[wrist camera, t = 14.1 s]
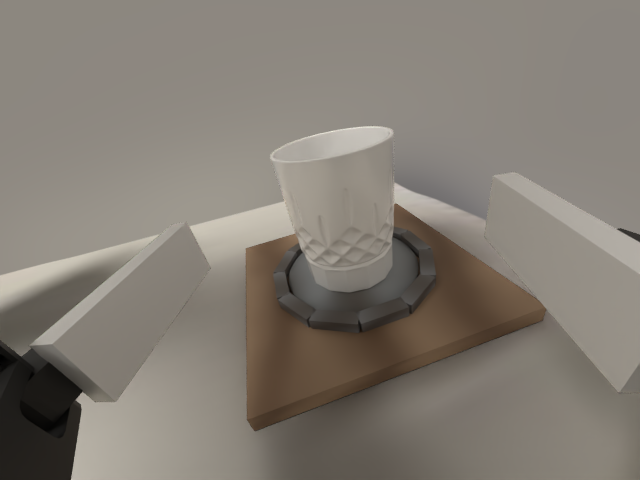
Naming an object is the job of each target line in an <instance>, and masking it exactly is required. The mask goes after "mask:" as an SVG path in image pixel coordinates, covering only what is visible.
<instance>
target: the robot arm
mask: <svg viewBox="0 0 640 480" xmlns="http://www.w3.org/2000/svg"><path fill="white" fill-rule="evenodd" d="M484 237H485V238H486V239H487V241H488V242H489V243H490V244H491V245H492V246H493V248H494V249H495V250H496V251H497V252H498V253H499V255H500V256H501V257H502V258H503V259H504V260H505V262H506V263H507V264H508V265H509V266H510V267H511V268H512V270H513V271H514V272H515V273H516V274H517V275H518V277H519V278H520V279H521V280H522V281H523V282H524V284H525V285H526V286H527V287H528V288H529V289H530V291H531V292H532V293H533V294H534V295H535V296H536V298H537V299H538V300H539V301H540V302H541V303H542V305H543V306H544V307H545V308H546V309H547V310H548V311H549V313H550V314H551V315H552V316H553V317H554V318H555V320H556V321H557V322H558V323H559V324H560V325H561V327H562V328H563V329H564V330H565V331H566V332H567V334H568V335H569V336H570V337H571V338H572V339H573V341H574V342H575V343H576V344H577V345H578V346H579V348H580V349H581V350H582V351H583V352H584V353H585V354H586V356H587V357H588V358H589V359H590V360H591V361H592V363H593V364H594V365H595V366H596V367H597V368H598V370H599V371H600V372H601V373H602V374H603V375H604V377H605V378H606V379H607V380H608V381H609V382H610V384H611V385H612V386H613V387H614V388H615V389H616V391H617V392H618V393H640V235H639V234H636V233H633V232H630V231H627V230H624V229H621V228H620V229H615V228H613V227H612V226H610V225H608V224H606V223H604V222H603V221H601V220H599V219H597V218H596V217H594V216H592V215H590V214H589V213H587V212H585V211H583V210H581V209H580V208H578V207H576V206H574V205H573V204H571V203H569V202H567V201H566V200H564V199H562V198H560V197H558V196H557V195H555V194H553V193H551V192H550V191H548V190H546V189H544V188H542V187H540V186H539V185H537V184H535V183H534V182H532V181H530V180H528V179H527V178H525V177H523V176H521V175H520V174H518V173H516V172H513V173H506V174H500V175H493V180H492V186H491V193H490V200H489V208H488V215H487V221H486V228H485V236H484ZM210 269H211V268H210V266H209V264H208V262H207V260H206V258H205V256H204V254H203V252H202V250H201V248H200V247H199V245H198V243H197V241H196V239H195V237H194V235H193V233H192V231H191V229H190V227H189V225H188V223H187V222H184V223H176V224H172V225H171V226H170V227H168V228H167V229H166V230H165V231H164V232H163V233H161V234H160V235H159V236H158V237H157V238H155V239H154V240H153V241H152V242H151V243H150V244H148V245H147V246H146V247H145V248H144V249H142V250H141V251H140V252H139V253H138V254H136V255H135V256H134V257H133V258H132V259H131V260H129V261H128V262H127V263H126V264H125V265H123V266H122V267H121V268H120V269H119V270H118V271H116V272H115V273H114V274H113V275H112V276H110V277H109V278H108V279H107V280H106V281H105V282H103V283H102V284H101V285H100V286H99V287H97V288H96V289H95V290H94V291H93V292H92V293H90V294H89V295H88V296H87V297H86V298H84V299H83V300H82V301H81V302H80V303H79V304H77V305H76V306H75V307H74V308H73V309H71V310H70V311H69V312H68V313H67V314H66V315H64V316H63V317H62V318H61V319H60V320H58V321H57V322H56V323H55V324H54V325H52V326H51V327H50V328H49V329H48V330H47V331H45V332H44V333H43V334H42V335H41V336H39V337H38V338H37V339H36V340H35V341H34V342H32V343H31V344H30V345H29V347H31V349H30V350H29V351H28V352H27V353H26V354H24V355H23V356H22V357H21V356H19V355H18V354H17V353H16V352H14V351H13V350H12V349H11V348H9V347H8V346H7V345H6V344H4V343H3V342H2V341H1V340H0V480H71V475H72V469H73V462H74V456H75V449H76V443H77V436H78V430H79V423H80V417H81V410H82V409H81V404H79V403H78V402H77V401H76V398H77V397H78V396H79V395H80V394H81V393H82V391H83V392H84V393H85V394H86V395H87V396H89V397H90V398H91V399H92V400H93V401H95V402H116V401H117V399H118V398H119V397H120V395H121V394H122V392H123V391H124V390H125V388H126V387H127V385H128V384H129V383H130V381H131V380H132V378H133V377H134V376H135V374H136V373H137V371H138V370H139V369H140V367H141V366H142V364H143V363H144V361H145V360H146V359H147V357H148V356H149V354H150V353H151V352H152V350H153V349H154V347H155V346H156V345H157V343H158V342H159V340H160V339H161V338H162V336H163V335H164V333H165V332H166V331H167V329H168V328H169V326H170V325H171V323H172V322H173V321H174V319H175V318H176V316H177V315H178V314H179V312H180V311H181V309H182V308H183V307H184V305H185V304H186V302H187V301H188V300H189V298H190V297H191V295H192V294H193V292H194V291H195V290H196V288H197V287H198V285H199V284H200V283H201V281H202V280H203V278H204V277H205V276H206V274H207V273H208V271H209V270H210Z"/></svg>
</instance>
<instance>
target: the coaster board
mask: <svg viewBox="0 0 640 480" xmlns="http://www.w3.org/2000/svg"><path fill="white" fill-rule="evenodd" d="M392 260H393V265H392V268H391V270H390V271H389V273H388V275H387V276H386V278H385V279H384V280H382V281H381V282H379V283H377V284H376V285H374V286H373V287H371V288H369V289H365V290H360V291H356V292H351V293H347V292H336V291H330V290H328V289H326V288H324V287H322V286H320V285H318V284H317V283H316V282H315V280H314V278H313V276H312V275H311V273H310V270H309V267H308V264H307V261H306V258H305V254H304V253H303V252H302V250H301V247H300V244H299V241H298V238H297V236H296V234H293V235H289V236H286V237H283V238H279V239H276V240H273V241H269V242H266V243H263V244H259V245H256V246H253V247H249V248H246V346H247V421H248V422H249V424H250V425H251V427H252V428H253V430H254V431H256V430H259V429H262V428H264V427H267V426H269V425H272V424H275V423H277V422H280V421H282V420H285V419H288V418H290V417H293V416H295V415H298V414H300V413H303V412H306V411H308V410H311V409H313V408H316V407H319V406H321V405H324V404H326V403H329V402H332V401H334V400H337V399H339V398H342V397H345V396H347V395H350V394H352V393H355V392H358V391H360V390H363V389H365V388H368V387H371V386H373V385H376V384H378V383H381V382H384V381H386V380H389V379H391V378H394V377H397V376H399V375H402V374H404V373H407V372H410V371H412V370H415V369H417V368H420V367H422V366H425V365H428V364H430V363H433V362H435V361H438V360H441V359H443V358H446V357H448V356H451V355H454V354H456V353H459V352H461V351H464V350H467V349H469V348H472V347H474V346H477V345H480V344H482V343H485V342H487V341H490V340H493V339H495V338H498V337H500V336H503V335H506V334H508V333H511V332H513V331H516V330H519V329H521V328H524V327H526V326H529V325H531V324H534V323H537V322H539V321H542V320H543V318H544V315H545V312H546V308H545V307H544V306H543V305H542V303H541V302H540V301H539V300H537V299H536V298H535V297H533V296H532V295H530V294H529V293H527V292H526V291H524V290H523V289H521V288H520V287H518V286H517V285H515V284H514V283H512V282H511V281H510V280H508V279H507V278H505V277H504V276H502V275H501V274H499V273H498V272H496V271H495V270H493V269H492V268H490V267H489V266H487V265H486V264H485V263H483V262H482V261H480V260H479V259H477V258H476V257H474V256H473V255H471V254H470V253H468V252H467V251H465V250H464V249H462V248H461V247H460V246H458V245H457V244H455V243H454V242H452V241H451V240H449V239H448V238H446V237H445V236H443V235H442V234H440V233H439V232H437V231H436V230H435V229H433V228H432V227H430V226H429V225H427V224H426V223H424V222H423V221H421V220H420V219H418V218H417V217H415V216H414V215H412V214H411V213H410V212H408V211H407V210H405V209H404V208H402V207H401V206H399V205H398V204H394V231H393V235H392Z"/></svg>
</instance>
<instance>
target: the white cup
mask: <svg viewBox="0 0 640 480" xmlns="http://www.w3.org/2000/svg"><path fill="white" fill-rule="evenodd" d="M270 160H271V163H272V165H273V169H274V172H275V174H276V177H277V180H278V183H279V186H280V189H281V192H282V195H283V198H284V201H285V204H286V207H287V210H288V213H289V216H290V219H291V222H292V225H293V228H294V231H295V233H296V236H297V238H298V241H299V244H300V247H301V250H302V252H303V253H304V254H305V258H306V261H307V264H308V267H309V270H310V273H311V275H312V276H313V278H314V280H315V282H316V283H317V284H318V285H320V286H322V287H324V288H326V289H328V290H330V291H336V292H347V293H351V292H356V291H360V290H365V289H369V288H371V287H373V286H374V285H376V284H377V283H379V282H381V281H382V280H384V279H385V278H386V276H387V275H388V273H389V271H390V270H391V268H392V265H393V260H392V235H393V231H394V131H393V130H392V129H390V128H386V127H380V126H366V127H355V128H348V129H341V130H335V131H330V132H325V133H321V134H316V135H313V136H309V137H306V138H302V139H299V140H296V141H293V142H291V143H288V144H286V145H284V146H282V147H280V148H278V149H276V150H275V151H273V152H272V153H271V155H270Z"/></svg>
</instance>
